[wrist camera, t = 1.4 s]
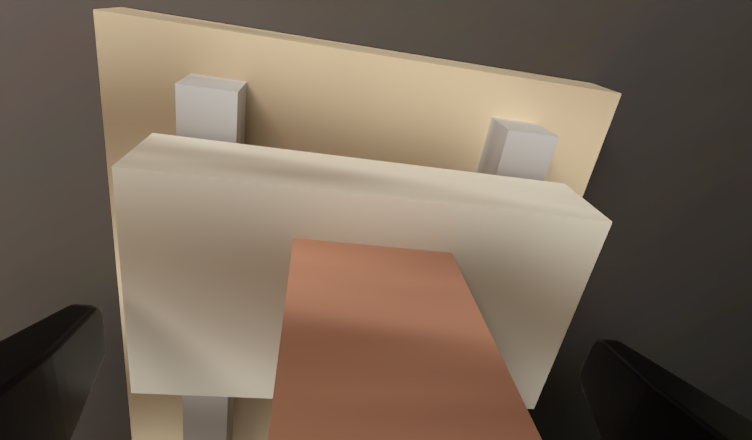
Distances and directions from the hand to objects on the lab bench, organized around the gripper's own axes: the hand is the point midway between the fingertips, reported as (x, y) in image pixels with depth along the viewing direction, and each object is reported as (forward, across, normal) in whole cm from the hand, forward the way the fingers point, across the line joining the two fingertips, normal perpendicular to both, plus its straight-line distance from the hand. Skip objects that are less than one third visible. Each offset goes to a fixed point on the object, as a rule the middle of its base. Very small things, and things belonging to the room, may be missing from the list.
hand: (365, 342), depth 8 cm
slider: (+3, 0, 0) cm, 3 cm away
